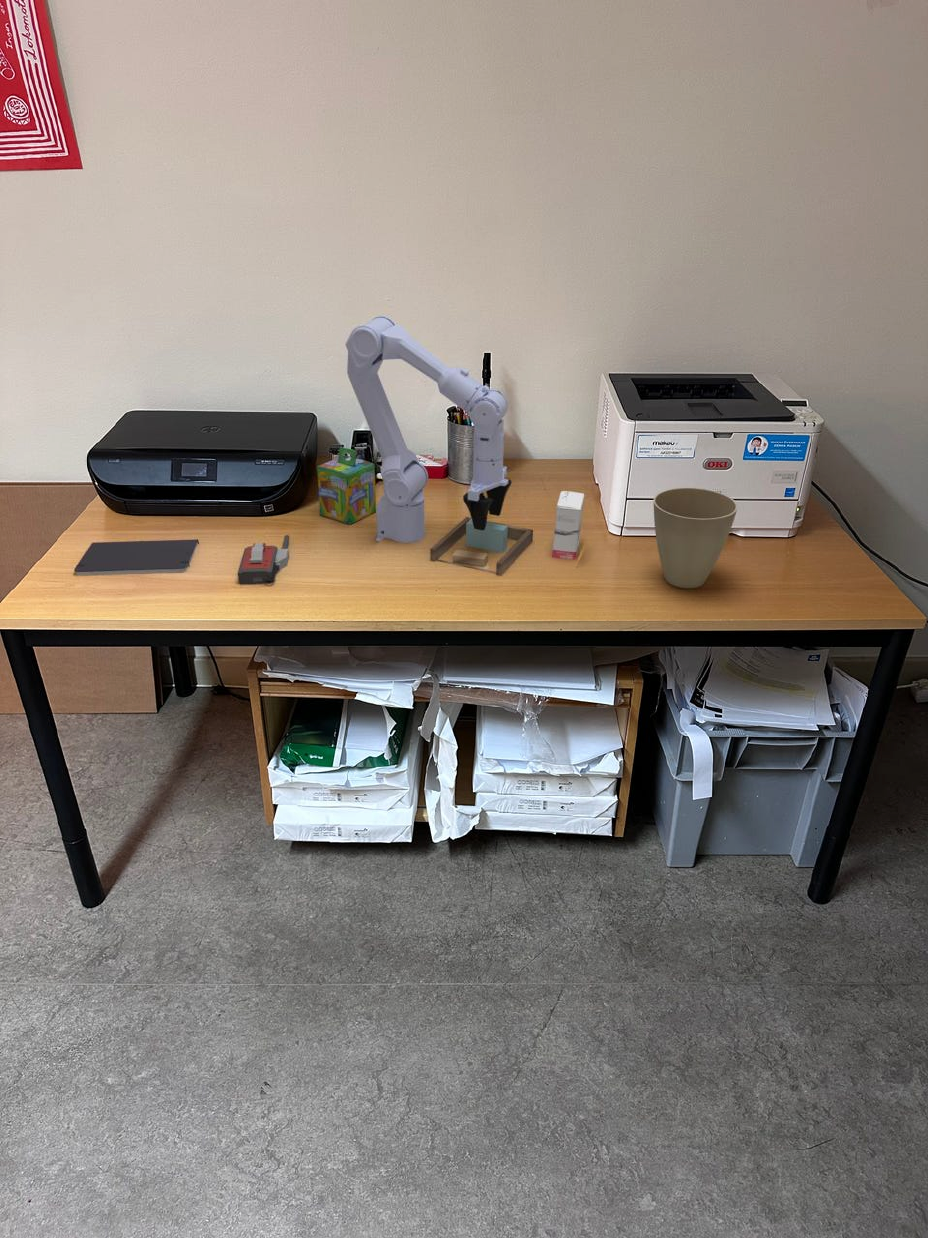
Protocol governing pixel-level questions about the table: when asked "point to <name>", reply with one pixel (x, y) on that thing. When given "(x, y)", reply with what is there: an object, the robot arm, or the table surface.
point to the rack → (523, 541)
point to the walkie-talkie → (262, 563)
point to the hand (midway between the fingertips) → (487, 521)
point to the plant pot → (691, 532)
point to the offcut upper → (470, 558)
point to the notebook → (137, 557)
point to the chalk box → (346, 488)
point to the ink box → (568, 525)
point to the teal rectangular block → (487, 537)
